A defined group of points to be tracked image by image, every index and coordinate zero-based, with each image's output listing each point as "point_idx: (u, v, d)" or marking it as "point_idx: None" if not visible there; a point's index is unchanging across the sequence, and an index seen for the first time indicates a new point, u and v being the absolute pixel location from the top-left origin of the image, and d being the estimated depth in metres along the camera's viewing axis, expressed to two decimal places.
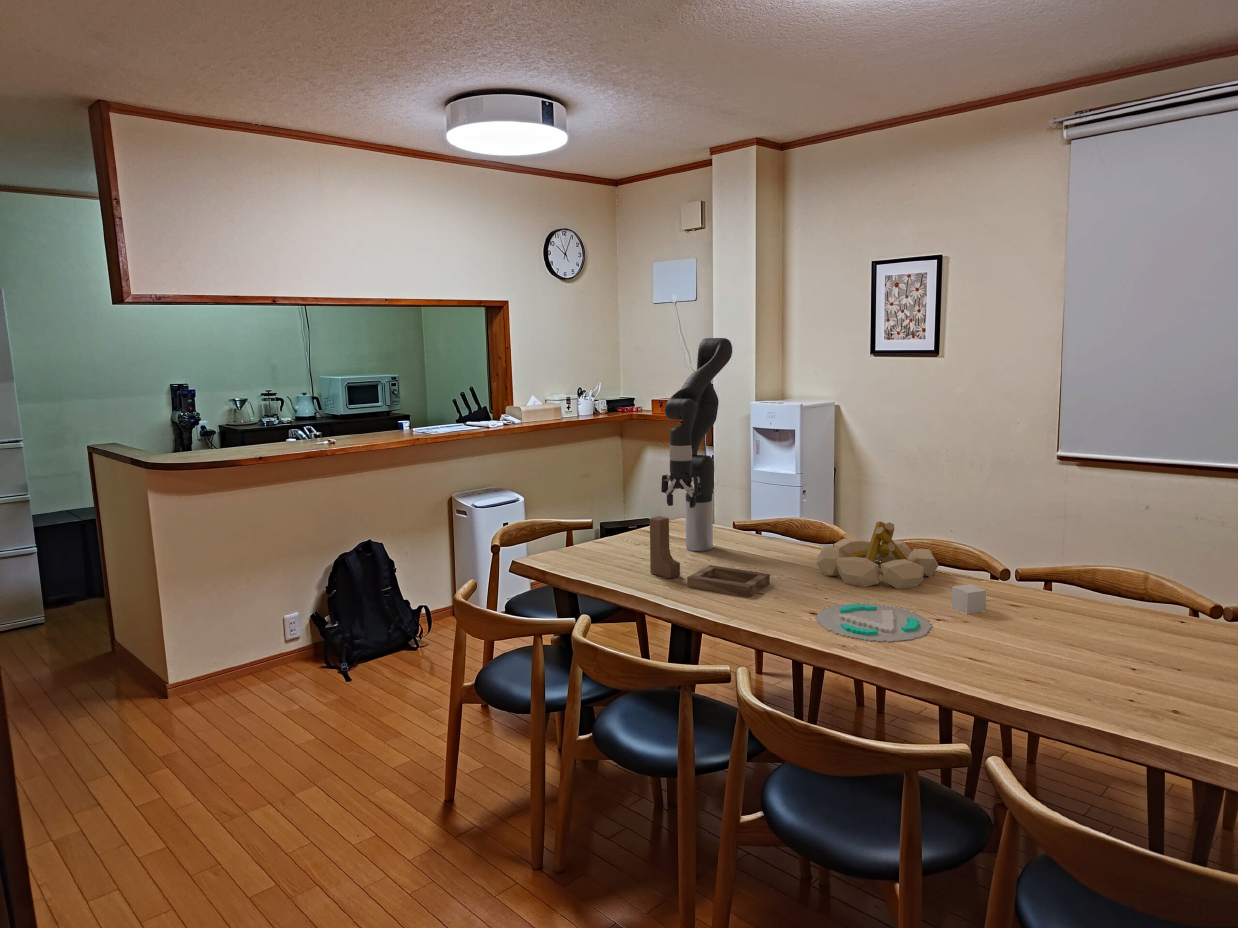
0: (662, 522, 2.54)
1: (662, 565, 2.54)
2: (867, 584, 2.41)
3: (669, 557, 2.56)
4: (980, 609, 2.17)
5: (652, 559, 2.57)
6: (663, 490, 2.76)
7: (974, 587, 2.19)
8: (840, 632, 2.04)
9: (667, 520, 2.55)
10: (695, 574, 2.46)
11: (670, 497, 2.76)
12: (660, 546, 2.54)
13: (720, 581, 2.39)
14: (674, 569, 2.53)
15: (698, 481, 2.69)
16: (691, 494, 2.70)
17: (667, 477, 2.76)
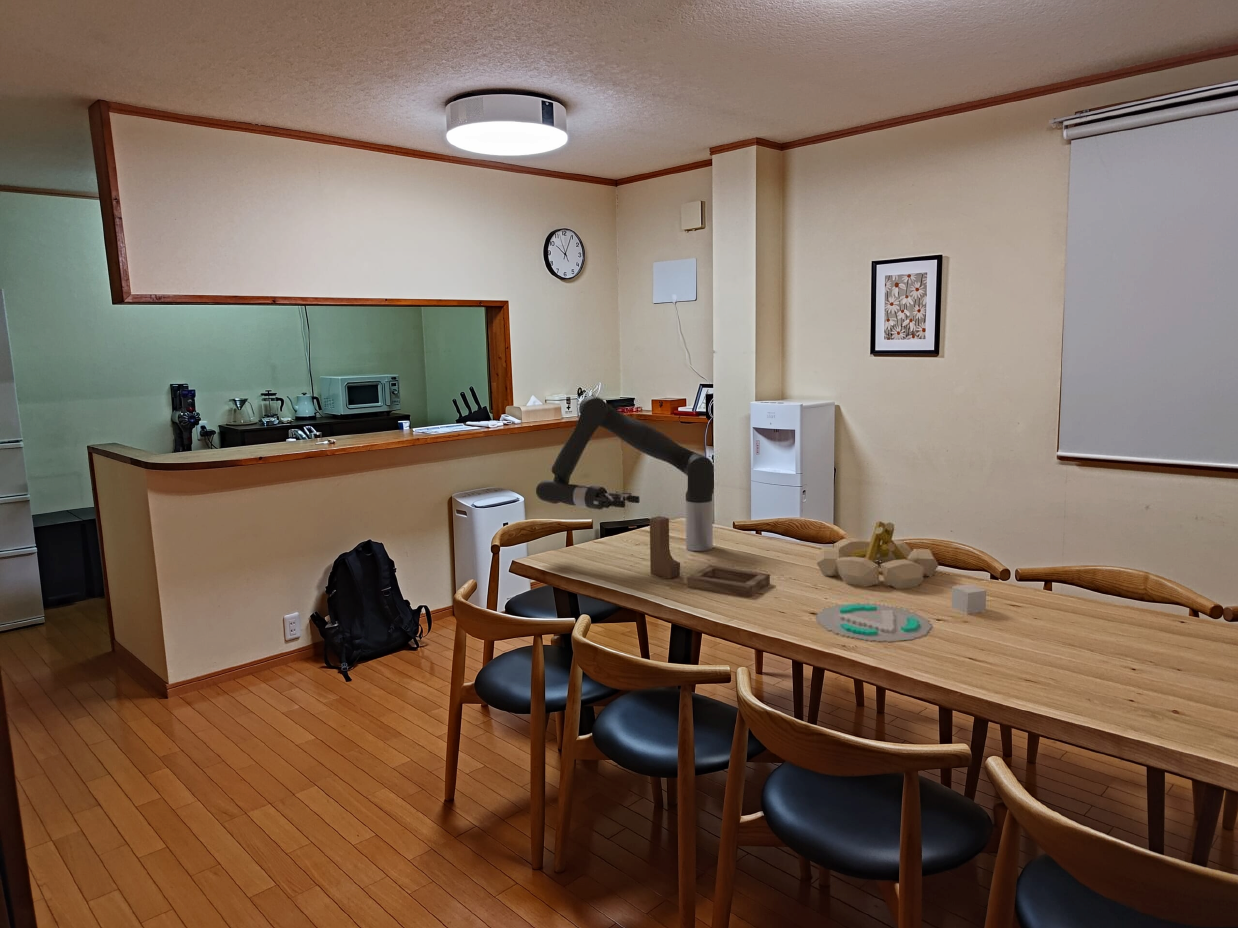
0: (662, 522, 2.54)
1: (662, 565, 2.54)
2: (867, 584, 2.41)
3: (669, 557, 2.56)
4: (980, 609, 2.17)
5: (652, 559, 2.57)
6: None
7: (974, 587, 2.19)
8: (840, 632, 2.04)
9: (667, 520, 2.55)
10: (695, 574, 2.46)
11: (630, 500, 2.65)
12: (660, 546, 2.54)
13: (720, 581, 2.39)
14: (674, 569, 2.53)
15: (596, 503, 2.59)
16: None
17: None
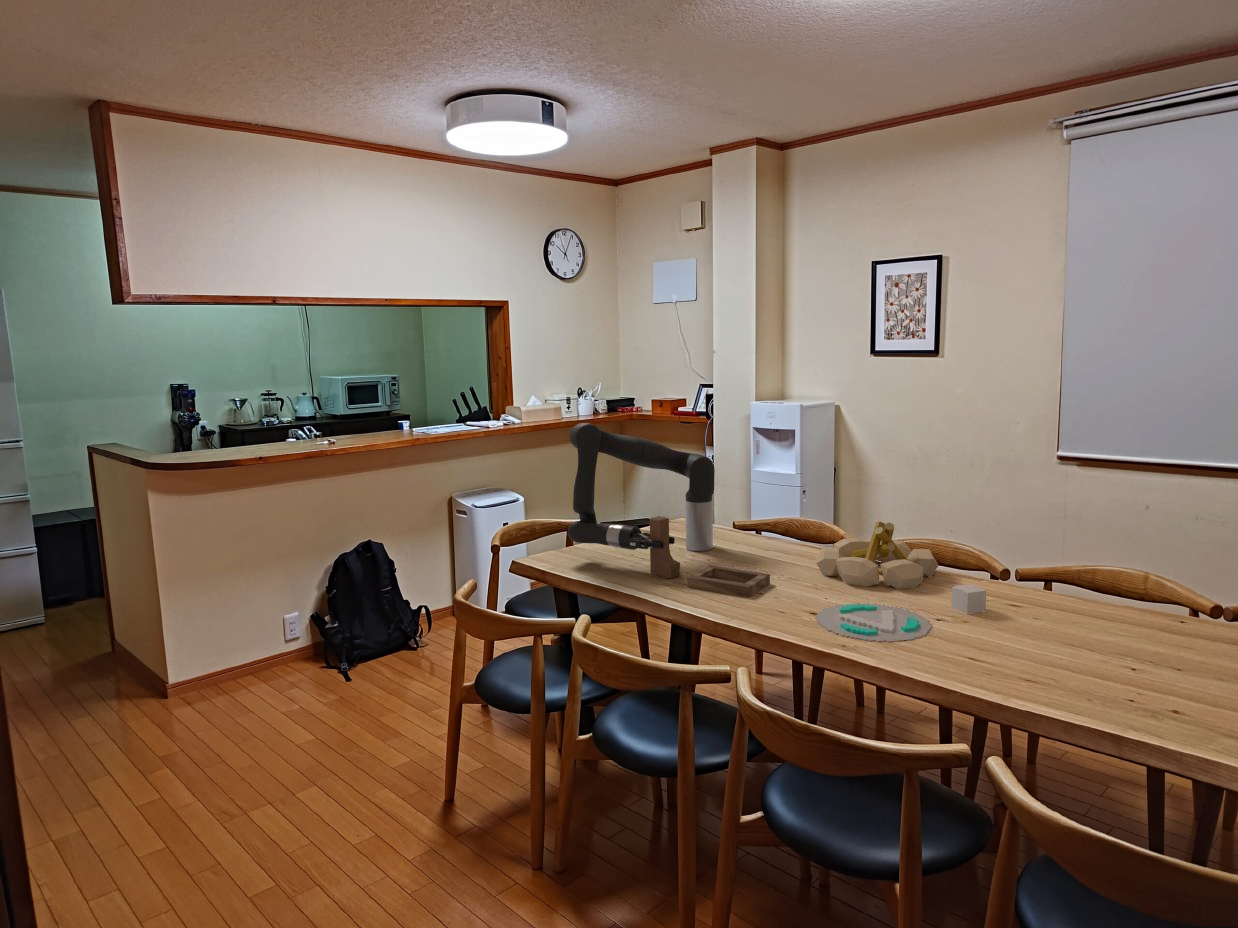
0: (662, 522, 2.54)
1: (662, 565, 2.54)
2: (867, 584, 2.40)
3: (669, 557, 2.56)
4: (980, 609, 2.17)
5: (652, 559, 2.57)
6: None
7: (974, 587, 2.19)
8: (840, 632, 2.04)
9: (667, 520, 2.55)
10: (695, 574, 2.46)
11: None
12: None
13: (720, 581, 2.39)
14: (674, 569, 2.53)
15: (633, 545, 2.54)
16: None
17: None
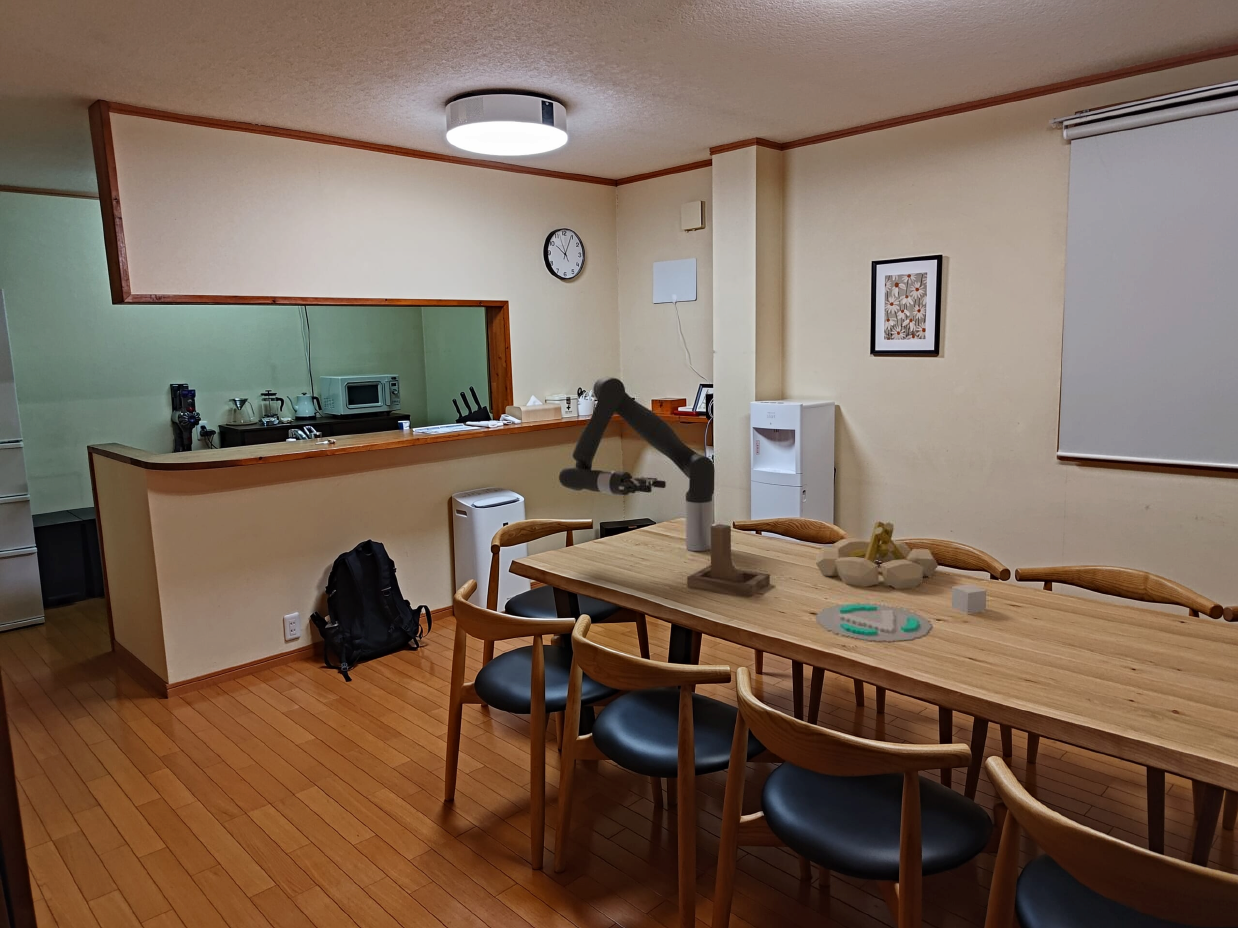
0: (724, 531, 2.41)
1: (724, 575, 2.42)
2: (866, 584, 2.40)
3: (731, 567, 2.43)
4: (980, 609, 2.17)
5: (713, 569, 2.45)
6: None
7: (974, 587, 2.19)
8: (840, 632, 2.04)
9: (729, 528, 2.43)
10: (695, 574, 2.46)
11: (656, 485, 2.59)
12: (723, 555, 2.42)
13: (720, 581, 2.39)
14: (738, 579, 2.41)
15: (621, 488, 2.53)
16: None
17: None
